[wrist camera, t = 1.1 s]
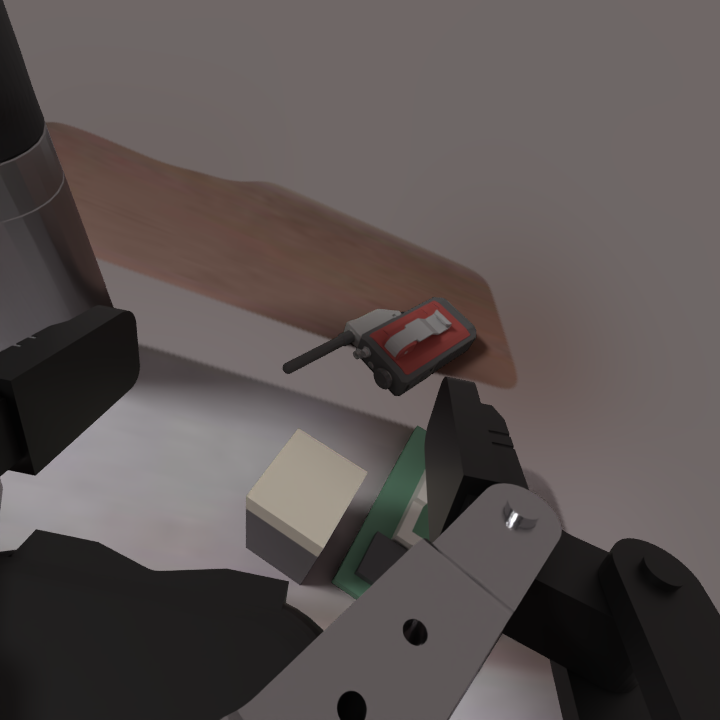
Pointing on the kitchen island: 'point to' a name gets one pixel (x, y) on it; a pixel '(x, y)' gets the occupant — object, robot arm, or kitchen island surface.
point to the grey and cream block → (299, 504)
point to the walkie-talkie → (401, 343)
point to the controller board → (389, 522)
